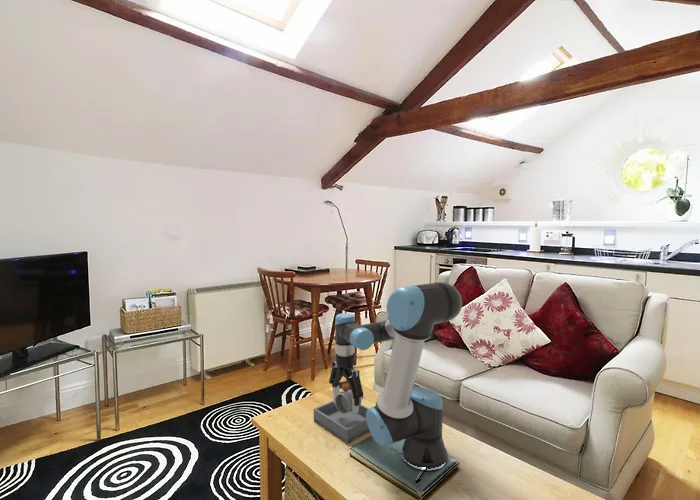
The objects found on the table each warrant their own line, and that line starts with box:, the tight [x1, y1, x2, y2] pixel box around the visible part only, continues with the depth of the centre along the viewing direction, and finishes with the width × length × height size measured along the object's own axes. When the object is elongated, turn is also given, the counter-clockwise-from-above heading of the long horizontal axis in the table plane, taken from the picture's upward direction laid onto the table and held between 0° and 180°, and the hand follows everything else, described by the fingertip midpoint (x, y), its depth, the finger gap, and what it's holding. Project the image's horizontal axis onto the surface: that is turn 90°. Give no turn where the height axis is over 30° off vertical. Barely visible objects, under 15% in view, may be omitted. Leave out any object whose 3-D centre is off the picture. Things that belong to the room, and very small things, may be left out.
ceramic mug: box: [335, 390, 362, 414], centre depth 151 cm, size 11×8×8 cm
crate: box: [313, 400, 370, 444], centre depth 152 cm, size 21×17×5 cm
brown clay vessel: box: [337, 380, 351, 392], centre depth 175 cm, size 12×10×8 cm
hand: (345, 407), depth 151 cm, fingers closed on ceramic mug, 11 cm apart
